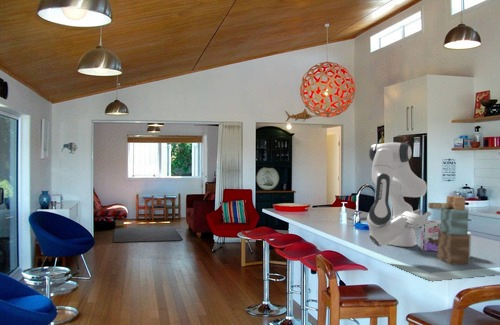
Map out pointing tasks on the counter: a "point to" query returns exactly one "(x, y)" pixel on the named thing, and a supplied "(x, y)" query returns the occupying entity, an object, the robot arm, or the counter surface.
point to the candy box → (430, 235)
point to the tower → (453, 237)
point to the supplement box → (469, 242)
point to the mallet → (450, 203)
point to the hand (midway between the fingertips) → (425, 211)
